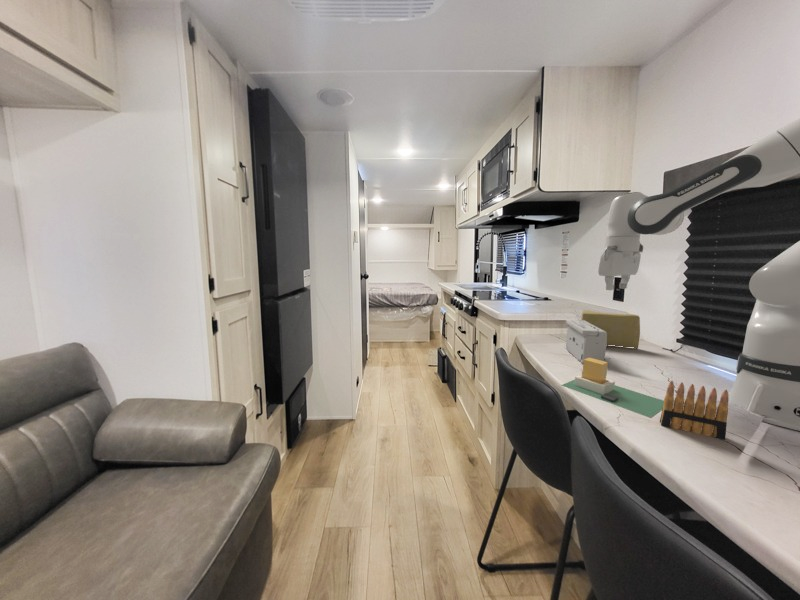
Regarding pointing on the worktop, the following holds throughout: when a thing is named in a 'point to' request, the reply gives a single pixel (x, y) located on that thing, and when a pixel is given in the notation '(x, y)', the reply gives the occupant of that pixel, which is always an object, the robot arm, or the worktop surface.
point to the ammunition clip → (695, 411)
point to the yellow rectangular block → (595, 370)
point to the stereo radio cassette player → (585, 340)
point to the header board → (617, 396)
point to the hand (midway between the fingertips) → (616, 289)
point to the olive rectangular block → (616, 327)
